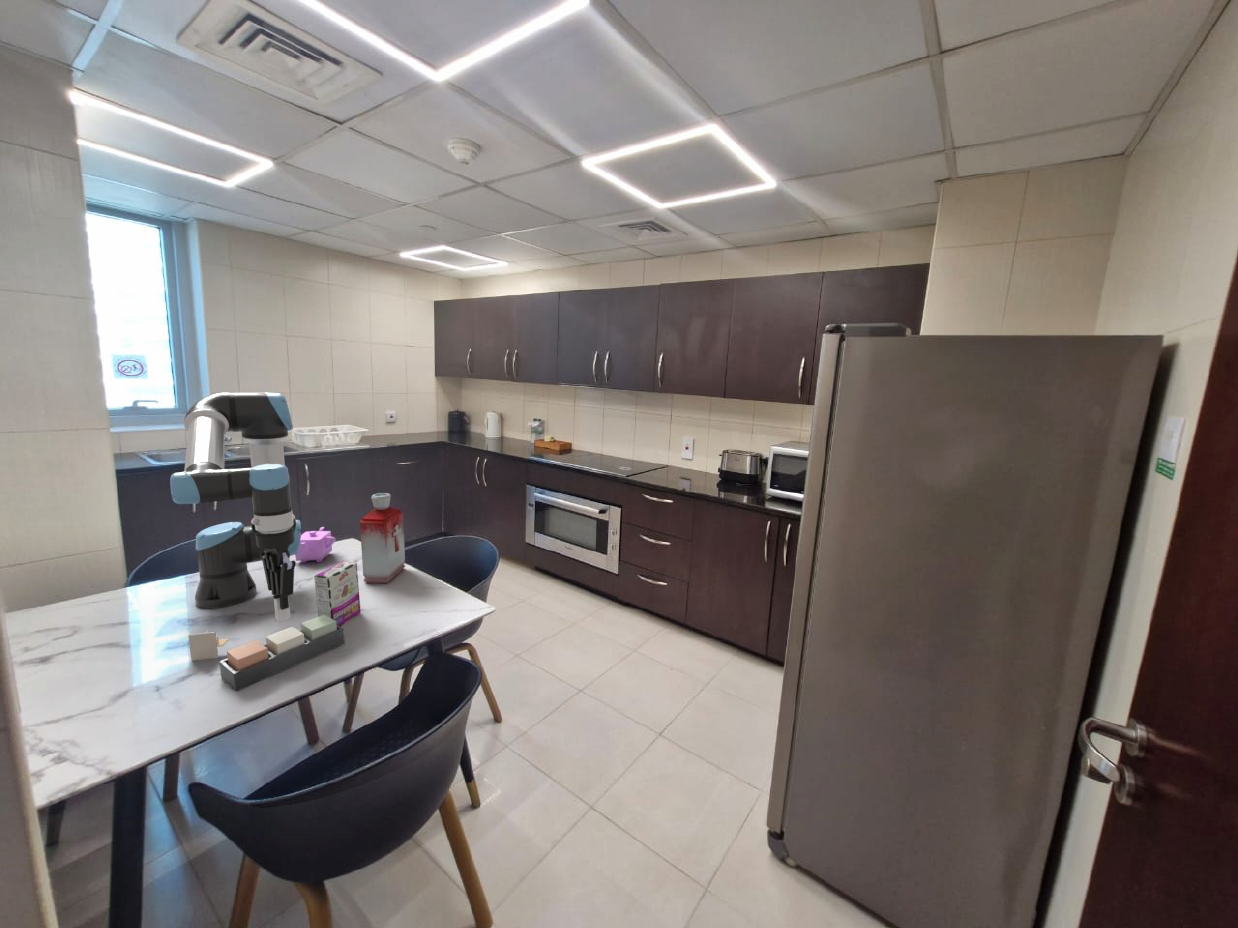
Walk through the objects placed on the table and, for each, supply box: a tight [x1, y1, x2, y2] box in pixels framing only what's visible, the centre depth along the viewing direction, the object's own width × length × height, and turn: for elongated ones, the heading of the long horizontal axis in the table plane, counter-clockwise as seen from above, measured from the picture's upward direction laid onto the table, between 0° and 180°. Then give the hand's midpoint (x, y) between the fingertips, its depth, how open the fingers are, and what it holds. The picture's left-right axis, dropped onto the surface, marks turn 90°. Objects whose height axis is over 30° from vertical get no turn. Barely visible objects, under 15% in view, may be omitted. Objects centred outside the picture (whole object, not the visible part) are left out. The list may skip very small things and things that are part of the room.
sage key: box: [300, 615, 337, 641], centre depth 129 cm, size 6×6×5 cm
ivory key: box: [265, 626, 304, 655], centre depth 122 cm, size 6×6×5 cm
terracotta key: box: [226, 639, 269, 671], centre depth 116 cm, size 6×6×5 cm
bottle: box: [359, 492, 406, 585], centre depth 172 cm, size 14×10×30 cm
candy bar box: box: [314, 560, 361, 627], centre depth 141 cm, size 11×5×16 cm, turn 168°
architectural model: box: [188, 629, 230, 661], centre depth 123 cm, size 3×7×7 cm, turn 107°
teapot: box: [294, 526, 336, 564], centre depth 186 cm, size 15×13×11 cm
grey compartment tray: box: [219, 625, 346, 692], centre depth 123 cm, size 8×25×4 cm, turn 147°
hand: (283, 619), depth 121 cm, fingers closed
